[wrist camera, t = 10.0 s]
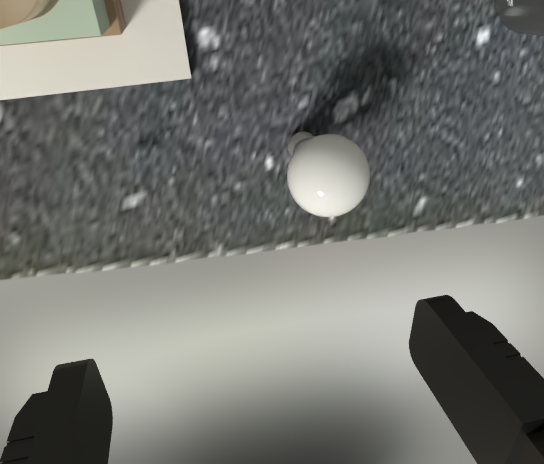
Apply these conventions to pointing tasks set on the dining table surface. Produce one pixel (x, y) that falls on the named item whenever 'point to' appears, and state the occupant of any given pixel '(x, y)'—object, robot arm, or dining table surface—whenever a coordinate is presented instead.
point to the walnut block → (115, 20)
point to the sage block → (61, 23)
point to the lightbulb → (326, 173)
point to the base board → (101, 56)
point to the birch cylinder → (23, 10)
